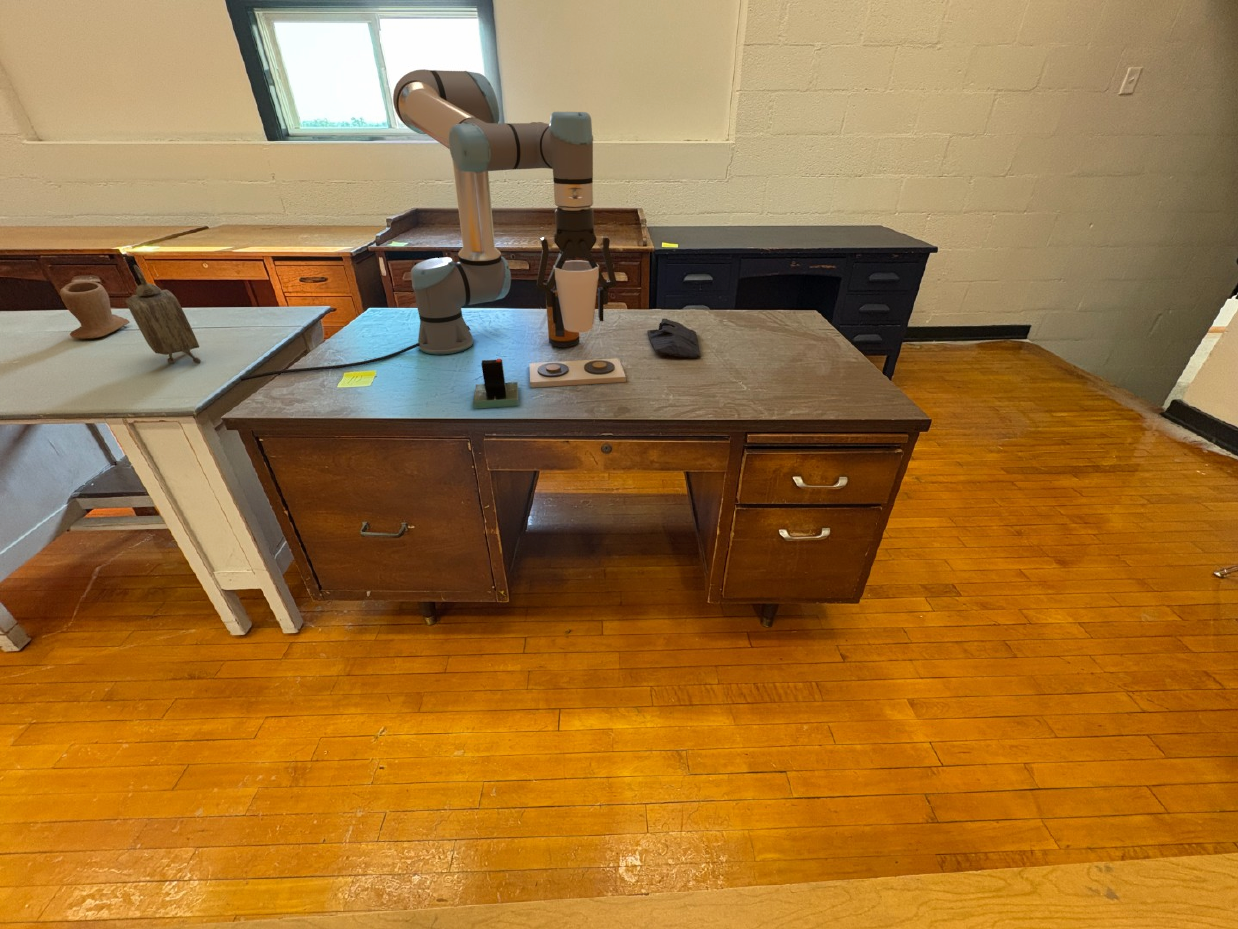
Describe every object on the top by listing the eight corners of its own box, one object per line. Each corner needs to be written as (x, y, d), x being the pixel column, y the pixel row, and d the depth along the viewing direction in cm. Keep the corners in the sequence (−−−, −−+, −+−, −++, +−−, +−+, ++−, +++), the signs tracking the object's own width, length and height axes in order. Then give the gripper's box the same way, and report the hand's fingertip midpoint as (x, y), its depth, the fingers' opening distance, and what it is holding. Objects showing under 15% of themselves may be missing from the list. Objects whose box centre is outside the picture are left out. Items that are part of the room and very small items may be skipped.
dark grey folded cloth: (647, 359, 145) (648, 342, 142) (647, 331, 163) (647, 316, 160) (702, 360, 144) (704, 343, 142) (696, 332, 162) (697, 317, 160)
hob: (530, 387, 129) (529, 378, 128) (530, 368, 139) (529, 359, 138) (625, 381, 132) (625, 372, 131) (618, 363, 142) (618, 354, 141)
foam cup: (566, 337, 109) (563, 273, 102) (550, 323, 116) (546, 263, 109) (607, 330, 113) (606, 268, 106) (588, 317, 120) (587, 258, 112)
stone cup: (107, 341, 153) (77, 290, 145) (66, 341, 153) (34, 289, 145) (145, 324, 166) (120, 275, 157) (107, 324, 166) (80, 275, 157)
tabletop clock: (208, 363, 140) (162, 267, 126) (167, 373, 135) (115, 274, 121) (193, 349, 149) (149, 257, 135) (154, 358, 143) (104, 263, 129)
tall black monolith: (485, 393, 122) (481, 362, 118) (486, 390, 123) (481, 359, 119) (505, 392, 123) (501, 361, 118) (505, 388, 124) (502, 358, 120)
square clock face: (474, 409, 120) (472, 400, 119) (477, 391, 127) (475, 383, 126) (518, 406, 121) (517, 397, 120) (518, 389, 128) (517, 381, 127)
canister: (581, 338, 158) (579, 270, 146) (575, 352, 149) (572, 280, 137) (552, 337, 158) (547, 269, 147) (544, 350, 149) (539, 279, 138)
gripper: (516, 211, 96) (527, 328, 109) (633, 209, 100) (630, 323, 112) (516, 204, 103) (526, 316, 115) (626, 203, 106) (624, 312, 118)
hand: (578, 320), depth 114 cm, fingers closed on foam cup, 9 cm apart
